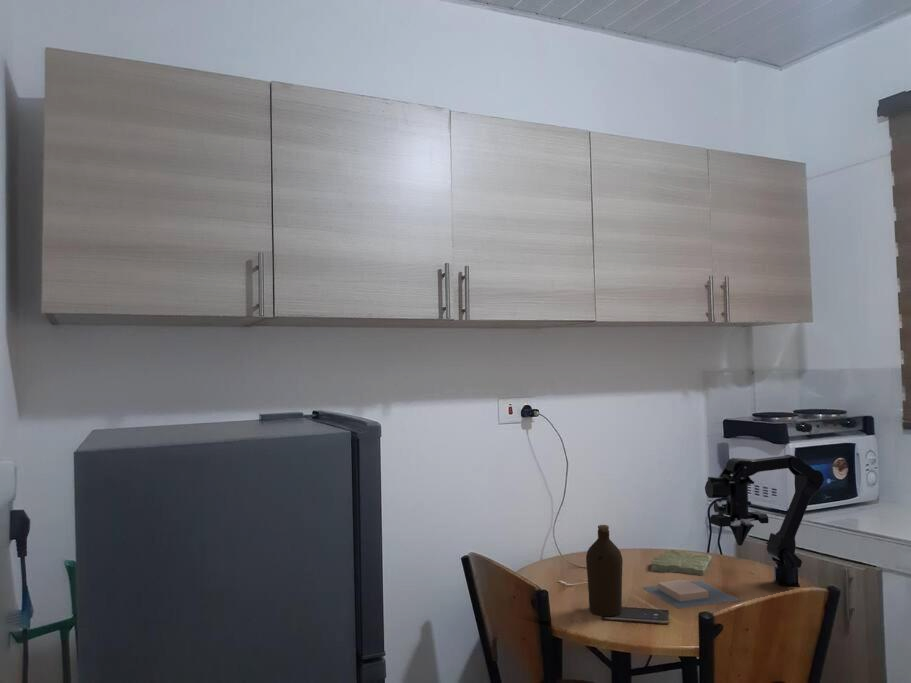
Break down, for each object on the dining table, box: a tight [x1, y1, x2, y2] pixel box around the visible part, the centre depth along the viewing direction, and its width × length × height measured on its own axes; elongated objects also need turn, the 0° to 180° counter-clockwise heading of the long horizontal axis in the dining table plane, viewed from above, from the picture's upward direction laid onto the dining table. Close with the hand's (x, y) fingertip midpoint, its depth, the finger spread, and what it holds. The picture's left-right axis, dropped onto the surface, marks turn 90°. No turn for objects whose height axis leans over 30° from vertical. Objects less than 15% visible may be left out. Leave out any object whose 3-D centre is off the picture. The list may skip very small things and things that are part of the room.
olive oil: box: [585, 524, 624, 617], centre depth 202 cm, size 11×11×25 cm
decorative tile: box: [650, 549, 713, 576], centre depth 245 cm, size 19×20×4 cm
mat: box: [641, 580, 740, 609], centre depth 214 cm, size 22×20×1 cm
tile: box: [657, 578, 709, 603], centre depth 213 cm, size 2×12×10 cm
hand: (739, 545), depth 223 cm, fingers closed
